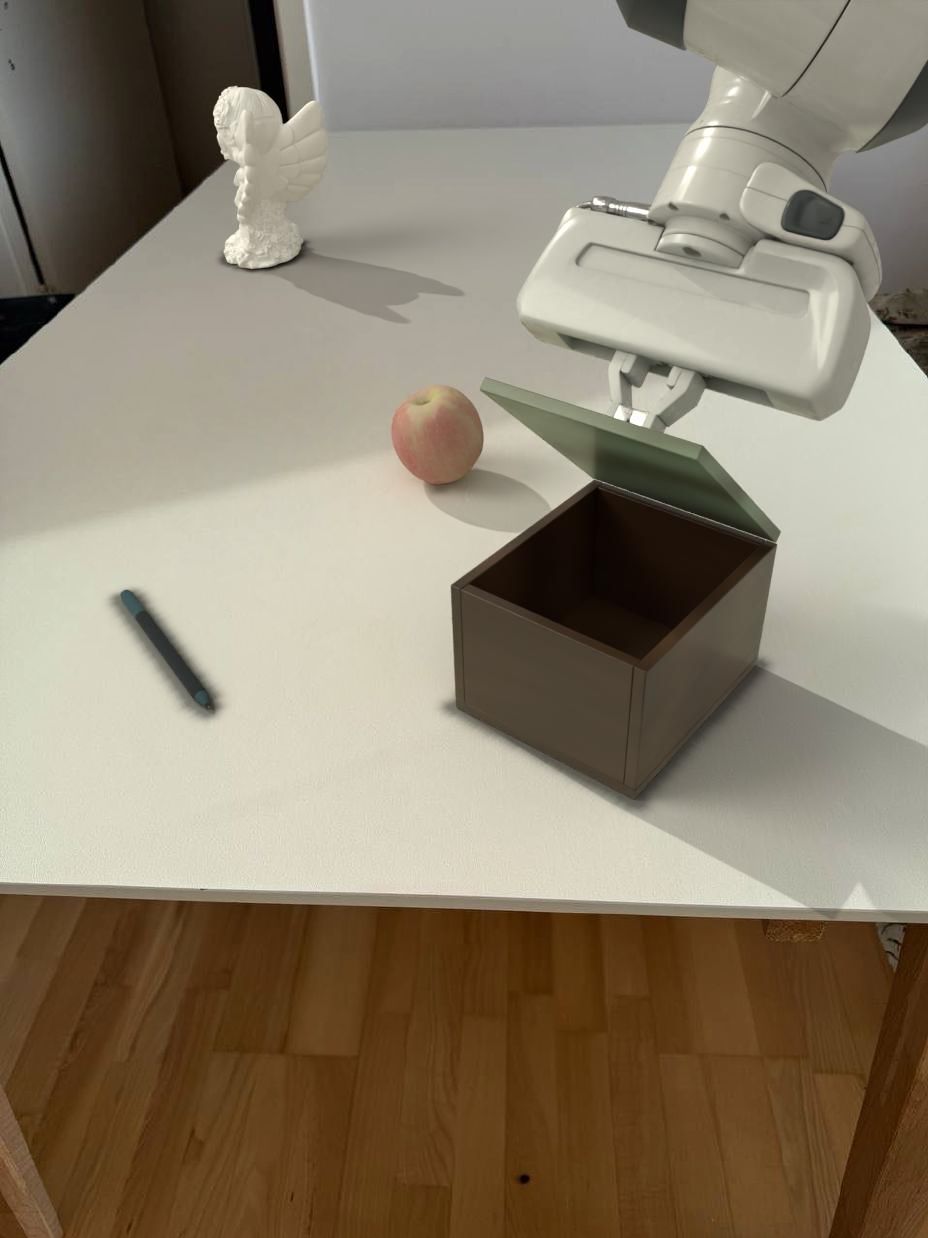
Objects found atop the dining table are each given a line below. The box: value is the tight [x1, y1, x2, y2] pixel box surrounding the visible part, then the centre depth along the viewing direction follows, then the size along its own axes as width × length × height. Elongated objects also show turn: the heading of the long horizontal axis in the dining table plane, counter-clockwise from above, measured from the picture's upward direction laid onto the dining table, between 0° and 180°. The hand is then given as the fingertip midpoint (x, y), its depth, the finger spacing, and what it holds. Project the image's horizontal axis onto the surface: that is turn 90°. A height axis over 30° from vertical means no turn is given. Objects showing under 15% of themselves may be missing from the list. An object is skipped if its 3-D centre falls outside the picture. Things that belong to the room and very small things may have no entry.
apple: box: [390, 384, 485, 485], centre depth 93 cm, size 8×8×8 cm
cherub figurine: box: [212, 85, 330, 270], centre depth 137 cm, size 13×12×20 cm
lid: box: [479, 376, 782, 544], centre depth 64 cm, size 17×14×1 cm
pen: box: [120, 589, 211, 708], centre depth 77 cm, size 1×16×1 cm, turn 34°
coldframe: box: [450, 479, 778, 800], centre depth 70 cm, size 16×14×10 cm
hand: (625, 442), depth 62 cm, fingers closed
